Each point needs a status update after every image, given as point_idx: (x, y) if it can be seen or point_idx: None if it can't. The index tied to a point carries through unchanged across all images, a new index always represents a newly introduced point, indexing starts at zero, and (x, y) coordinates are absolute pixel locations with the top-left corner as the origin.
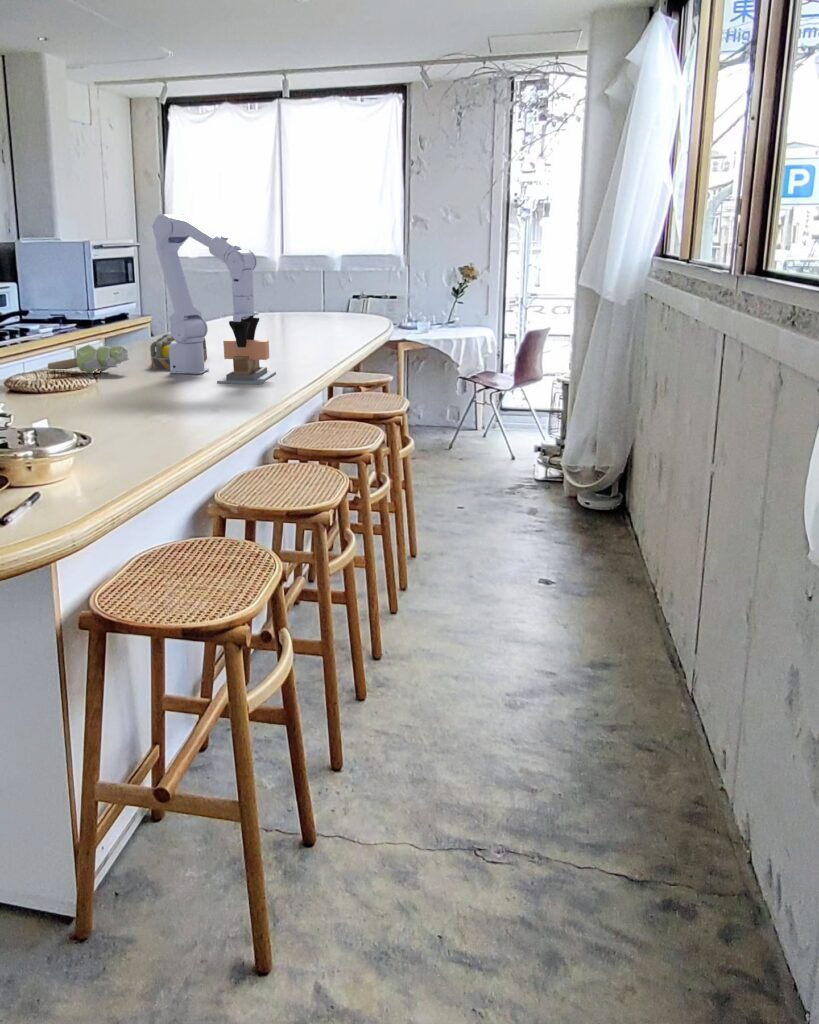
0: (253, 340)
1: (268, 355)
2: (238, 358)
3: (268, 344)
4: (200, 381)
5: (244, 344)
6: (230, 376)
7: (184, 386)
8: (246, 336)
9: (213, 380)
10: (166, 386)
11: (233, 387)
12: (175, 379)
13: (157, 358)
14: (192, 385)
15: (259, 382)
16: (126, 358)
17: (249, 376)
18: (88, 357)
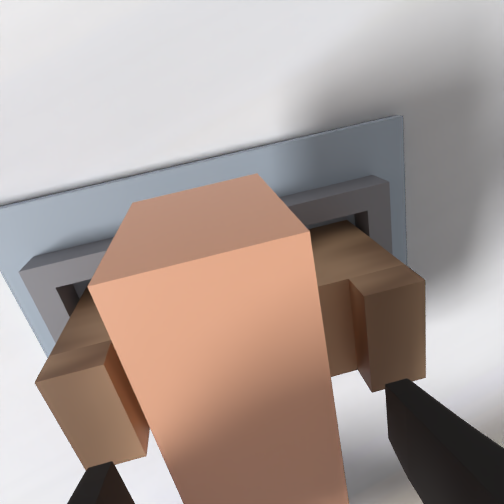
0: (225, 441)
1: (163, 202)
2: (418, 337)
3: (121, 253)
4: (373, 411)
5: (430, 402)
6: None
7: (491, 396)
8: (501, 470)
9: (337, 384)
10: (496, 442)
11: (501, 207)
12: (352, 499)
13: None
14: (467, 385)
15: (401, 116)
16: None
17: (386, 203)
18: None
